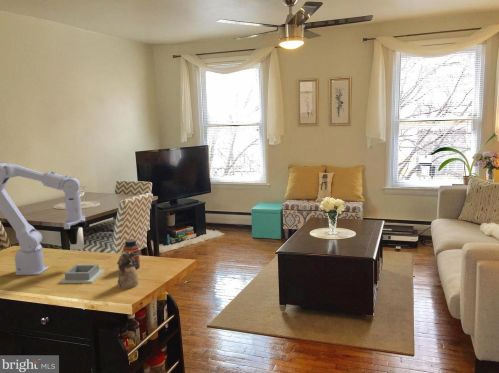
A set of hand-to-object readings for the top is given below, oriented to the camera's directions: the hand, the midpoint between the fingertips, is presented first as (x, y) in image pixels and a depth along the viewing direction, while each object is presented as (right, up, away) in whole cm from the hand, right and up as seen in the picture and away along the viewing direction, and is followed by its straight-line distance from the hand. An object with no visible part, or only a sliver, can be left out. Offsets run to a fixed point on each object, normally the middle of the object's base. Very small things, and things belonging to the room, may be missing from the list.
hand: (76, 242), depth 171 cm
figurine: (+25, -13, -18) cm, 34 cm away
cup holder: (+6, -12, -9) cm, 16 cm away
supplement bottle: (+22, -10, -1) cm, 25 cm away
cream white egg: (0, -2, 0) cm, 2 cm away
